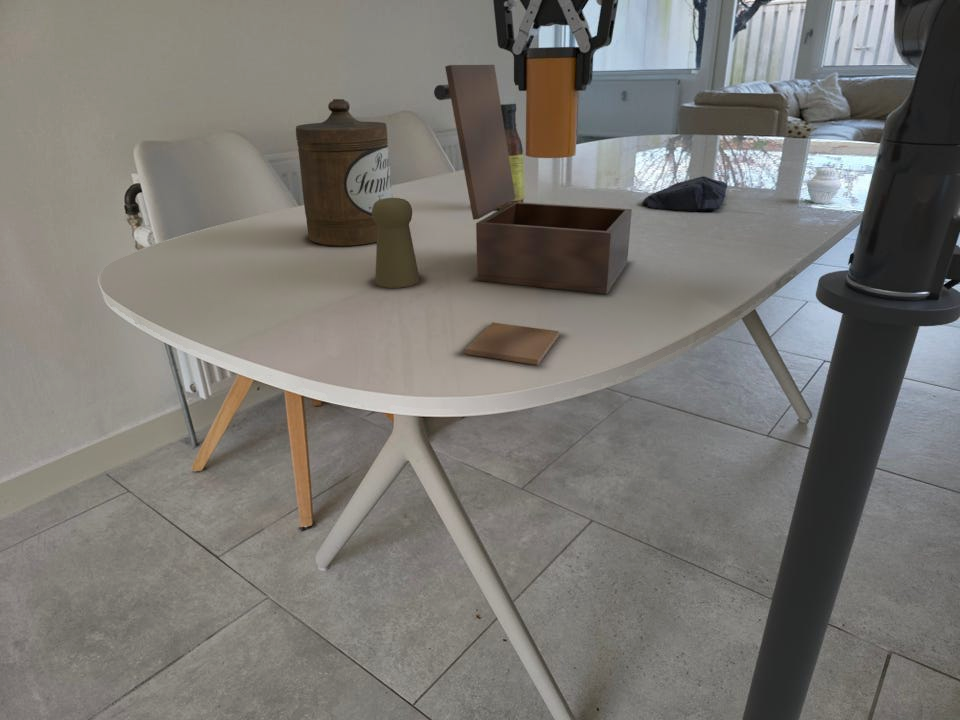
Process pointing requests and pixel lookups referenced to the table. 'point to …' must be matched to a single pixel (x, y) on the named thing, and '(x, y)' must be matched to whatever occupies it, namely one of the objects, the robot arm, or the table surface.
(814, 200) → the white vase
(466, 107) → the lid
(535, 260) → the chest
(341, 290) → the table surface
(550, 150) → the honey jar
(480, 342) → the coaster
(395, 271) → the pepper shaker
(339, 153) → the wooden container
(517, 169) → the sauce bottle
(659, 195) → the dark slate chunk
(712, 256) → the table surface
